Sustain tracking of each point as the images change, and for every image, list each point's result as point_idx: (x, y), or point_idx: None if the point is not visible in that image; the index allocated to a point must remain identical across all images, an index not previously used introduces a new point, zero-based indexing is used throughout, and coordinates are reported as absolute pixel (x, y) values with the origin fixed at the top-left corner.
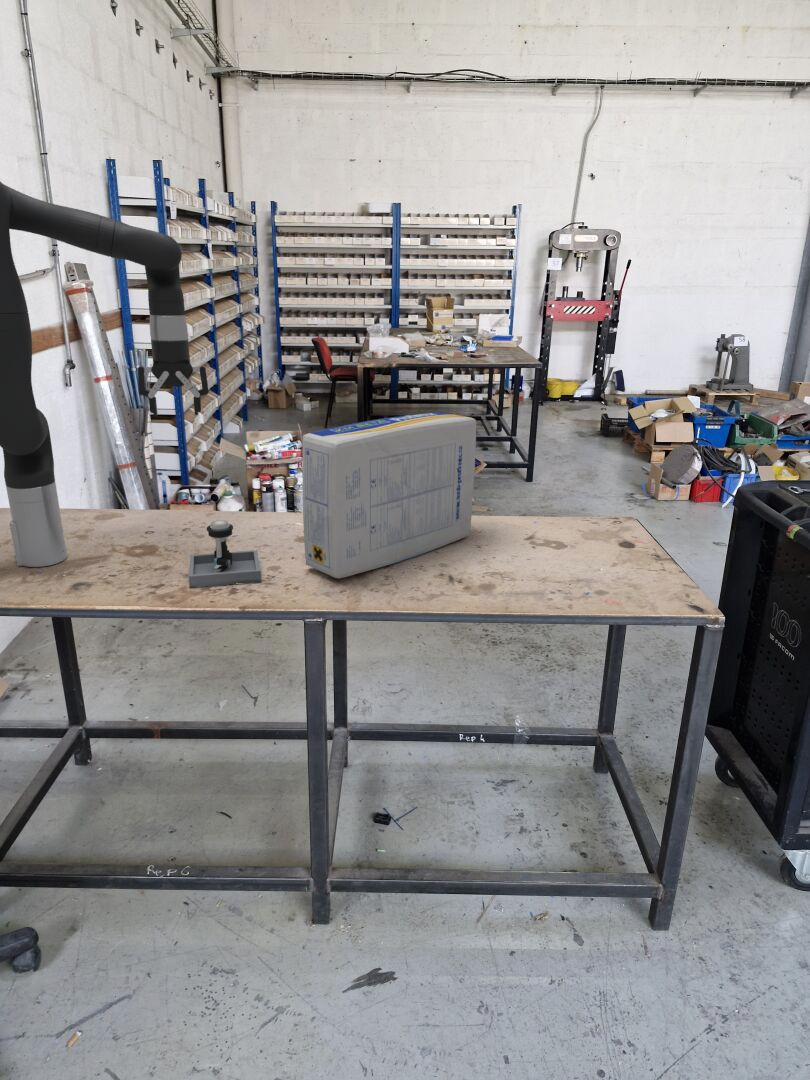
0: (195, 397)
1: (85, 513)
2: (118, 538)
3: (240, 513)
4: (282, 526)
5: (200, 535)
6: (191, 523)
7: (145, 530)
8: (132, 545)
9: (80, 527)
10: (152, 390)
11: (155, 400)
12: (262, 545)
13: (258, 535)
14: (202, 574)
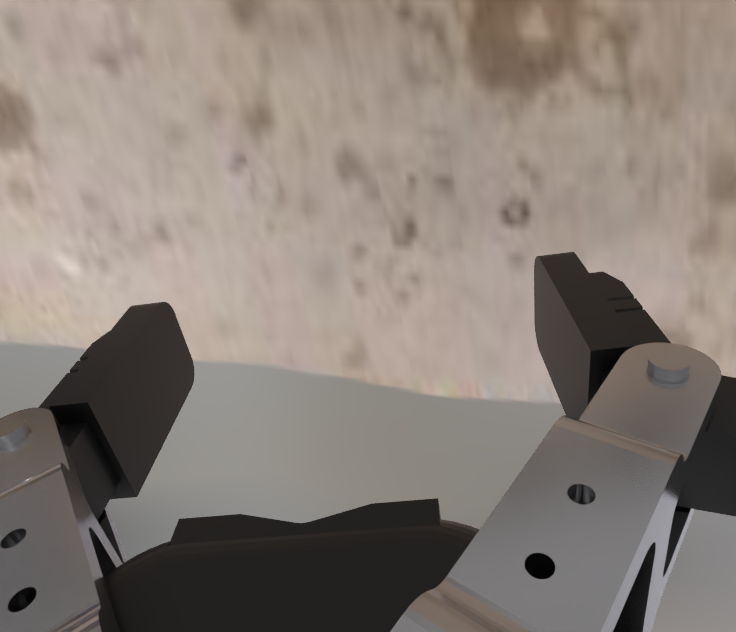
0: (72, 428)
1: None
2: (611, 161)
3: (270, 360)
4: (113, 244)
5: (351, 175)
6: (398, 286)
7: (531, 232)
8: (560, 87)
9: (732, 270)
10: (671, 421)
11: (581, 349)
12: (122, 62)
13: (164, 165)
14: None
